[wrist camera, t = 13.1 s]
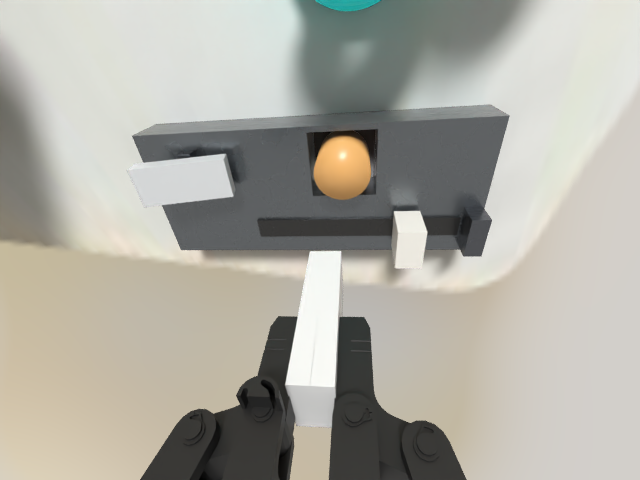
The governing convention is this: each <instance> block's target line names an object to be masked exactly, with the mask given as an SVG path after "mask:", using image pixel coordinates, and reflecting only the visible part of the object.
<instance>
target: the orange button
mask: <svg viewBox="0 0 640 480" xmlns="http://www.w3.org/2000/svg"><path fill="white" fill-rule="evenodd" d="M370 178H371V167H370V157H369V149H368V145H367V143H366V141H365V139H364V138H363V137H362V136H361V135H360V134H359V133H357V132H355V131H353V130H349V131H334V132H332V133H330V134H329V135H328V136H327V137H326V138H325V139H324V140H323V142H322V144H321V146H320V150H319V153H318V156H317V160H316V163H315V167H314V179H315V182H316V184H317V186H318V188H319V189H320V190H321V191H322V192H323V193H324V194H325V195H327V196H329V197H331V198H334V199H338V200H346V199H351V198H354V197H356V196H358V195H359V194H361V193H362V192H363V191H364V190H365V189H366V187H367V186H368V184H369V181H370Z"/></svg>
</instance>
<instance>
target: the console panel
mask: <svg viewBox="0 0 640 480" xmlns="http://www.w3.org/2000/svg"><path fill="white" fill-rule="evenodd" d="M508 119H509V115H508V114H506V113H504V112H502V111H501V110H499V109H497V108H495V107H494V106H492V105H477V106H460V107H443V108H426V109H409V110H392V111H375V112H358V113H341V114H324V115H307V116H290V117H273V118H255V119H238V120H221V121H204V122H187V123H170V124H156V125H154V126H152V127H150V128H147V129H145V130H143V131H141V132H139V133H137V134H135V135H133V136H132V137H133V139H134V141H135V144H136V146H137V148H138V151H139V153H140V155H141V158H142V160H143V162H144V163H147V162H156V161H164V160H173V159H182V158H191V157H200V156H209V155H218V154H226V155H227V159H228V163H229V167H230V170H231V174H232V178H233V182H234V186H235V189H236V190H235V193H234V197H227V198H218V199H210V200H202V201H193V202H185V203H176V204H168V205H162V206H163V209H164V211H165V213H166V216H167V218H168V220H169V223H170V225H171V227H172V230H173V232H174V234H175V237H176V239H177V241H178V244H179V246H180V248H181V250H392V247H391V242H392V229H393V216H394V211H420V212H421V215H422V218H423V221H424V224H425V227H426V229H427V238H426V245H425V250H445V249H460V250H461V252H462V255H463V256H481V255H482V252H483V249H484V245H485V242H486V239H487V235H488V232H489V229H490V225H491V222H492V219H491V218H490V216H489V215H488V214H487V212H486V211H485V209H484V208H485V204H486V200H487V196H488V193H489V189H490V185H491V182H492V178H493V174H494V171H495V167H496V163H497V160H498V156H499V152H500V149H501V145H502V141H503V138H504V134H505V130H506V127H507V123H508ZM368 129H375V155H374V177H371V178H370V181H369V184H368V186H367V187H366V189H365V190H364V191H363V192H362V193H361V194H359V195H358V196H356V197H354V198H351V199H346V200H338V199H334V198H331V197H329V196H327V195H325V194H324V193H323V192H322V191H321V190H320V189H319V188H318V186H317V184H316V182H315V179H314V167H315V163H316V159H315V148H314V137H313V132H329V131H349V130H368Z"/></svg>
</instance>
